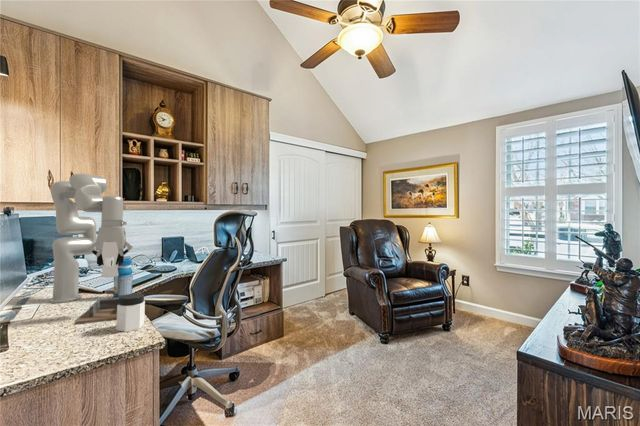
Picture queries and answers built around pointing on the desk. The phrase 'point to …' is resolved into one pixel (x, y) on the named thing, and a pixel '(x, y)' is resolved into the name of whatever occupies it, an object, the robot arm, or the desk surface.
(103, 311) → the u rest
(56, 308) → the desk surface
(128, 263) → the beverage bottle
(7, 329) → the desk surface
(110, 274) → the beer glass
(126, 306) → the jar
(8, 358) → the desk surface
